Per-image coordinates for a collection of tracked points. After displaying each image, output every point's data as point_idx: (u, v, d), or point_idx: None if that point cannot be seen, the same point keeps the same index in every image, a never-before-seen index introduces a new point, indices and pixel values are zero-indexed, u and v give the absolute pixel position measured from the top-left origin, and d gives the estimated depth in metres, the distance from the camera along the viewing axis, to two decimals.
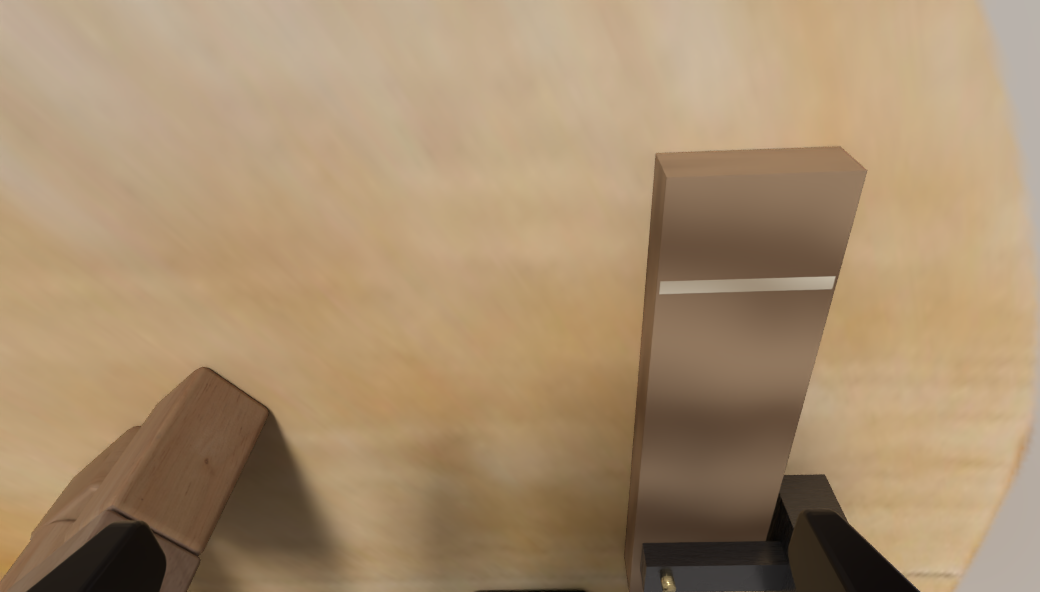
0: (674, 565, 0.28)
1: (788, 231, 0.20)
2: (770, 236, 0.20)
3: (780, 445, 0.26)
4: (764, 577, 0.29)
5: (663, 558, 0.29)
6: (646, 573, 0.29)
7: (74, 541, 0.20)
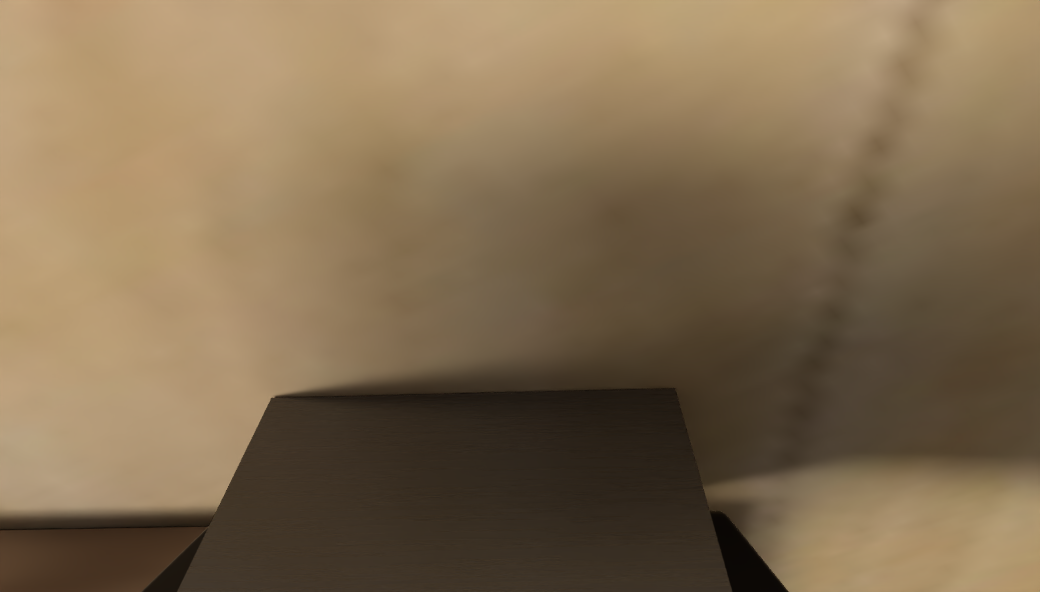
0: None
1: None
2: None
3: None
4: None
5: None
6: None
7: None
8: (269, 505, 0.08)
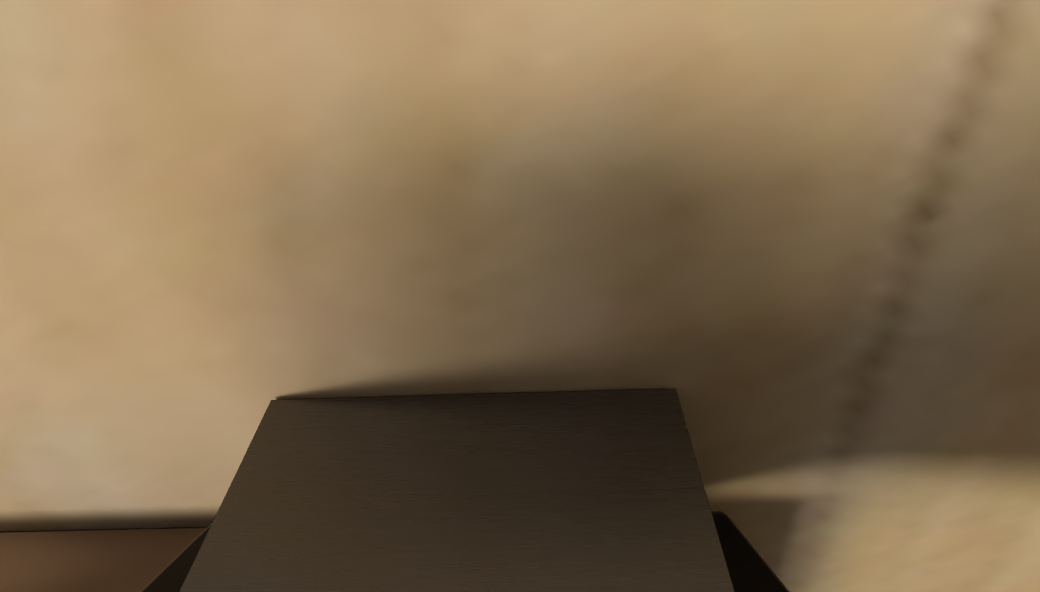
0: None
1: None
2: None
3: None
4: None
5: None
6: None
7: None
8: (269, 507, 0.08)
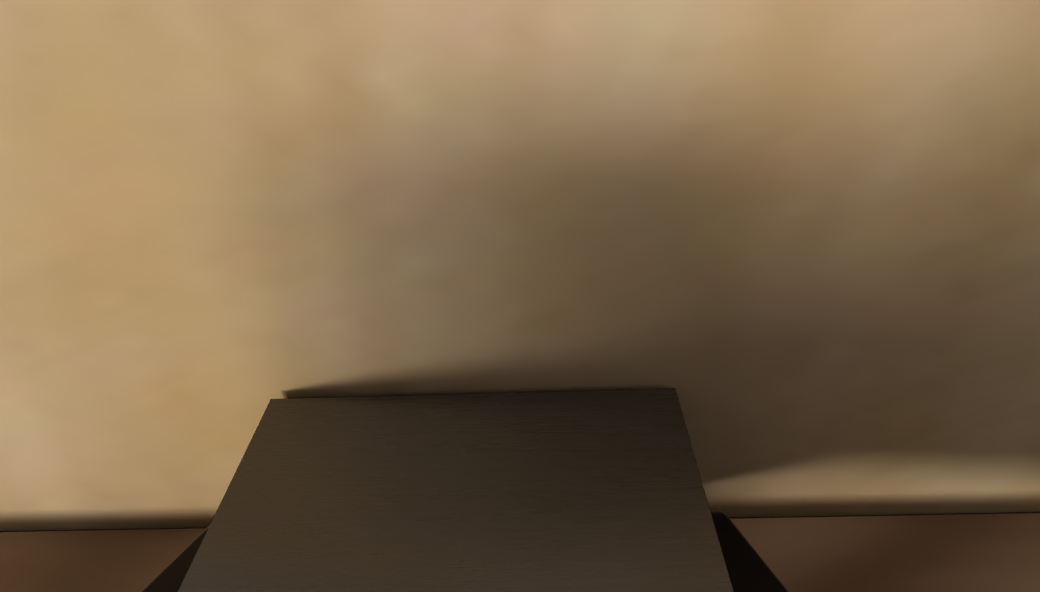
0: None
1: None
2: None
3: None
4: None
5: None
6: None
7: None
8: (269, 507, 0.08)
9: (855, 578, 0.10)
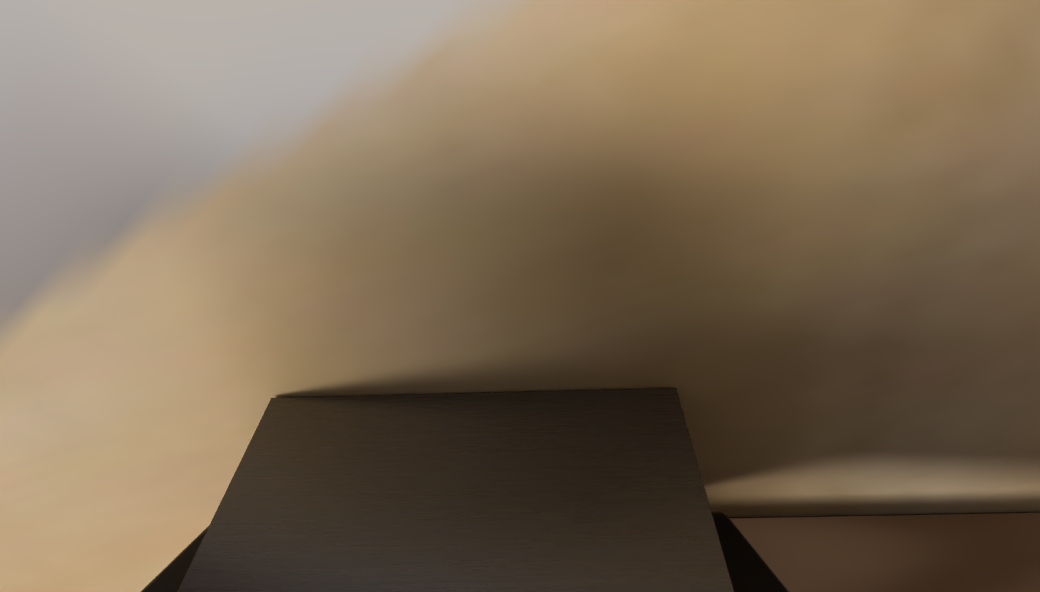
0: None
1: None
2: None
3: None
4: None
5: None
6: None
7: None
8: (269, 505, 0.08)
9: None
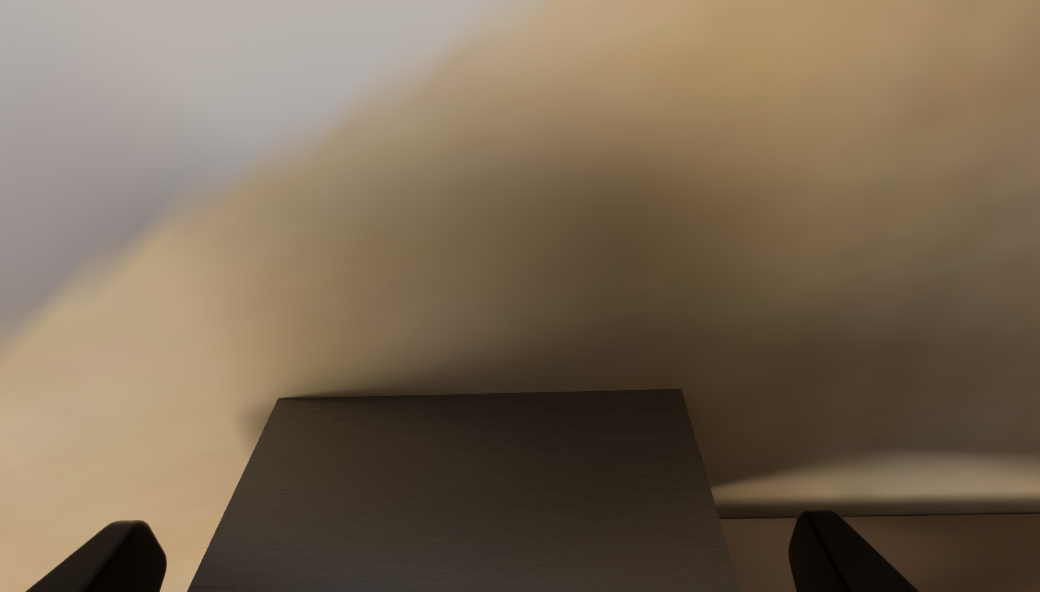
0: None
1: None
2: None
3: None
4: None
5: None
6: None
7: None
8: (277, 503, 0.08)
9: None
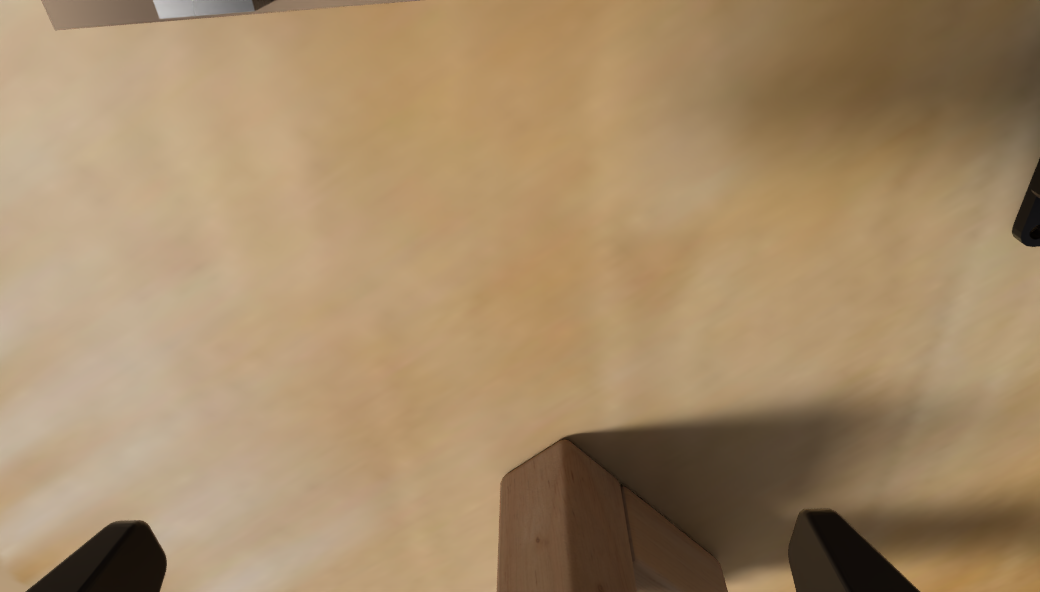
0: None
1: None
2: None
3: None
4: None
5: None
6: (185, 14, 0.13)
7: None
8: None
9: None
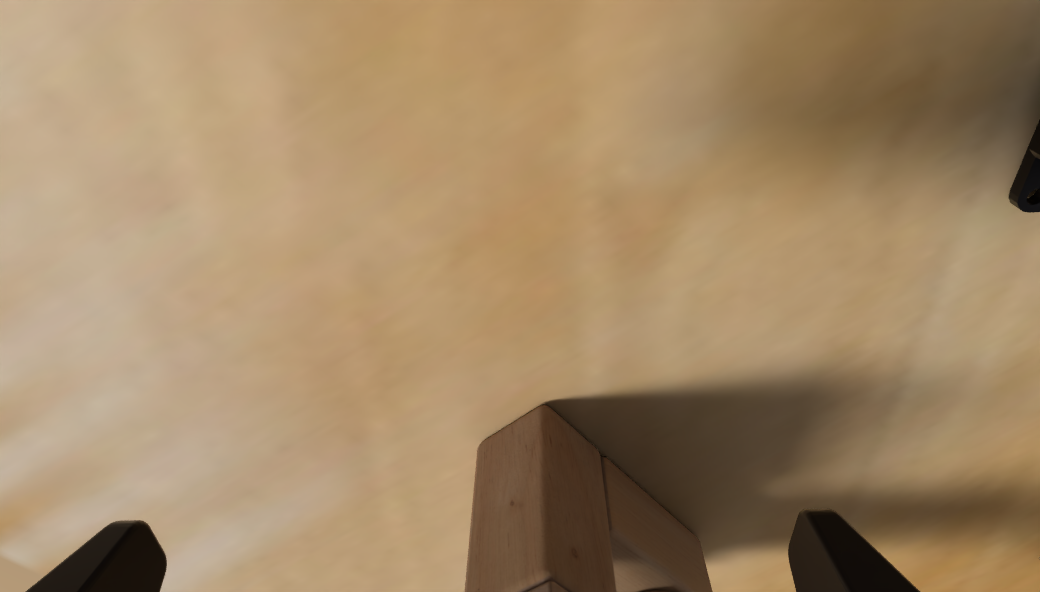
0: None
1: None
2: None
3: None
4: None
5: None
6: None
7: None
8: None
9: None
